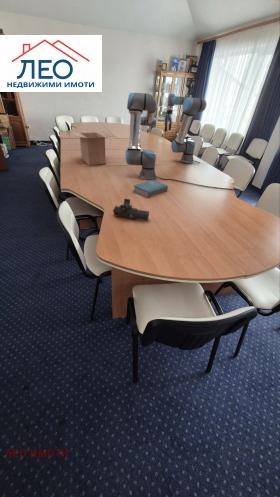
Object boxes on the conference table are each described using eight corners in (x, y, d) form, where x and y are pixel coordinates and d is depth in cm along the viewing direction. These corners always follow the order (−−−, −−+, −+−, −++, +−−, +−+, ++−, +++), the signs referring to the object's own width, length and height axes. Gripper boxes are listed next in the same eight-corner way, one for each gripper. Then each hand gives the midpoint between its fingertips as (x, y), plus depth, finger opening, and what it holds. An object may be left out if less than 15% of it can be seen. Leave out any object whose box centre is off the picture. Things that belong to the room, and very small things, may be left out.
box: (116, 165, 229) (116, 136, 213) (83, 168, 214) (80, 137, 198) (102, 154, 259) (101, 128, 243) (71, 156, 244) (68, 129, 228)
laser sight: (146, 223, 136) (147, 209, 130) (111, 218, 139) (111, 203, 133) (149, 216, 144) (150, 202, 138) (115, 211, 147) (115, 197, 141)
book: (152, 185, 190) (153, 179, 187) (167, 191, 181) (167, 185, 178) (133, 191, 176) (133, 185, 173) (147, 198, 167) (148, 191, 164)
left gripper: (137, 128, 240) (136, 151, 254) (129, 130, 225) (128, 154, 239) (144, 129, 238) (142, 152, 251) (135, 131, 223) (134, 155, 236)
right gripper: (170, 109, 263) (168, 129, 275) (163, 110, 244) (160, 131, 257) (176, 109, 260) (174, 129, 273) (169, 110, 242) (166, 132, 255)
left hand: (135, 153), depth 245 cm, fingers closed on brick, 7 cm apart
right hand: (167, 130), depth 265 cm, fingers open, 13 cm apart
